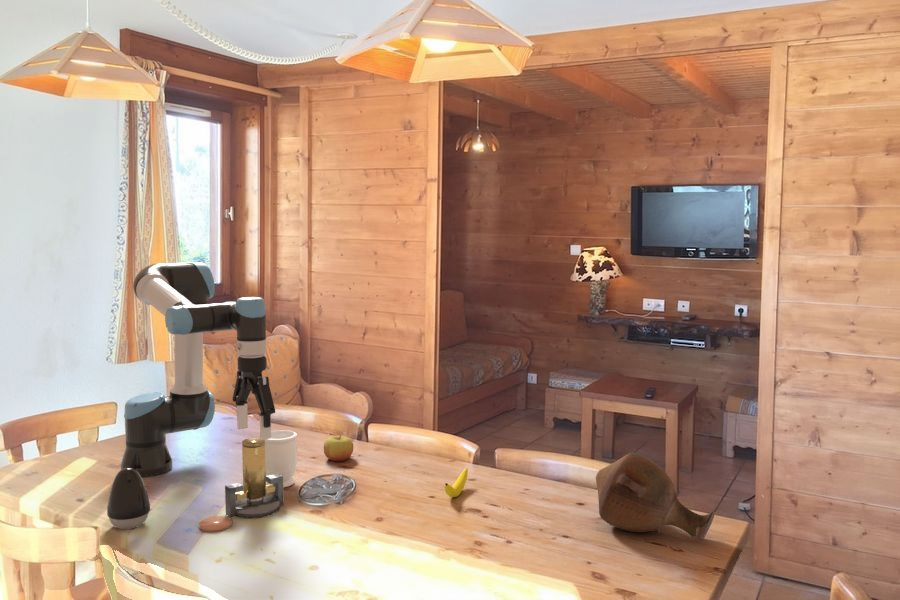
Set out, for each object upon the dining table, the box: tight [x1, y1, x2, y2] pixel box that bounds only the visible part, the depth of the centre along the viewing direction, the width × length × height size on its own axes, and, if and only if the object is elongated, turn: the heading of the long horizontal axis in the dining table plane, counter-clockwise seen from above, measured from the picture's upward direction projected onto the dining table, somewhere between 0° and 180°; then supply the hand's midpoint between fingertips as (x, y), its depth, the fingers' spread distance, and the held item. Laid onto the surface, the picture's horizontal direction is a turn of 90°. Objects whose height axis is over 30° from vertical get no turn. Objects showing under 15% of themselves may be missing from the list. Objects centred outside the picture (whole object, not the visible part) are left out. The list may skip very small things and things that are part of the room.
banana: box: [444, 467, 469, 498], centre depth 224 cm, size 3×19×6 cm, turn 161°
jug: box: [595, 452, 716, 541], centre depth 197 cm, size 20×20×30 cm
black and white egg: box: [106, 468, 151, 530], centre depth 200 cm, size 10×10×15 cm
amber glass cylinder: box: [235, 437, 275, 501], centre depth 211 cm, size 6×11×15 cm, turn 130°
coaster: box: [198, 515, 233, 533], centre depth 201 cm, size 8×8×1 cm
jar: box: [265, 429, 298, 489], centre depth 232 cm, size 11×10×15 cm
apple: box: [323, 435, 354, 462], centre depth 256 cm, size 10×10×8 cm
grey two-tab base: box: [224, 473, 284, 519], centre depth 212 cm, size 13×16×8 cm
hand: (253, 433), depth 210 cm, fingers open, 13 cm apart
